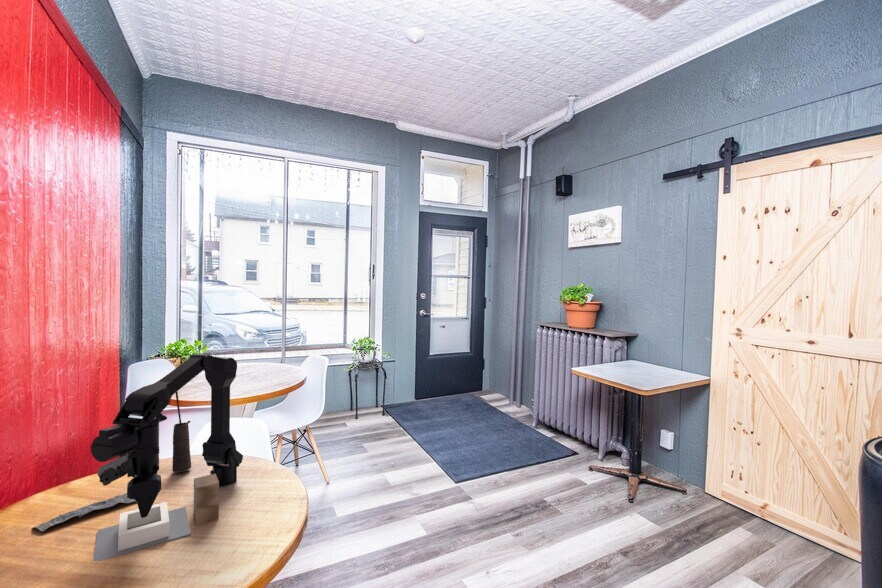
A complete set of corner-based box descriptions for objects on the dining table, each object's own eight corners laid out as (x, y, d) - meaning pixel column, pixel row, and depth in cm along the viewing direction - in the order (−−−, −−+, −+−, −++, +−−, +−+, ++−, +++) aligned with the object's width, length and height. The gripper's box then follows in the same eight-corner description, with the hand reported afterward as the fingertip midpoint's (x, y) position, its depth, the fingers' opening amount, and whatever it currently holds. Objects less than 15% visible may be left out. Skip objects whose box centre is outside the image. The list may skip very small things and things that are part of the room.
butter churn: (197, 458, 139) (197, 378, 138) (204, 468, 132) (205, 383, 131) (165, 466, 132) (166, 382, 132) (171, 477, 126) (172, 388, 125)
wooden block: (215, 509, 109) (215, 473, 109) (218, 520, 104) (219, 482, 104) (193, 515, 106) (193, 478, 106) (196, 527, 101) (196, 488, 101)
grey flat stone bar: (36, 536, 95) (36, 527, 95) (30, 527, 99) (30, 518, 99) (140, 501, 112) (140, 493, 112) (131, 494, 116) (131, 486, 116)
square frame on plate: (185, 510, 108) (185, 493, 108) (190, 537, 97) (190, 519, 97) (97, 533, 97) (98, 515, 97) (92, 567, 86) (92, 547, 86)
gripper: (103, 438, 99) (103, 500, 99) (97, 467, 84) (96, 540, 85) (158, 429, 106) (158, 487, 106) (161, 454, 91) (161, 522, 91)
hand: (144, 507), depth 97 cm, fingers open, 9 cm apart
